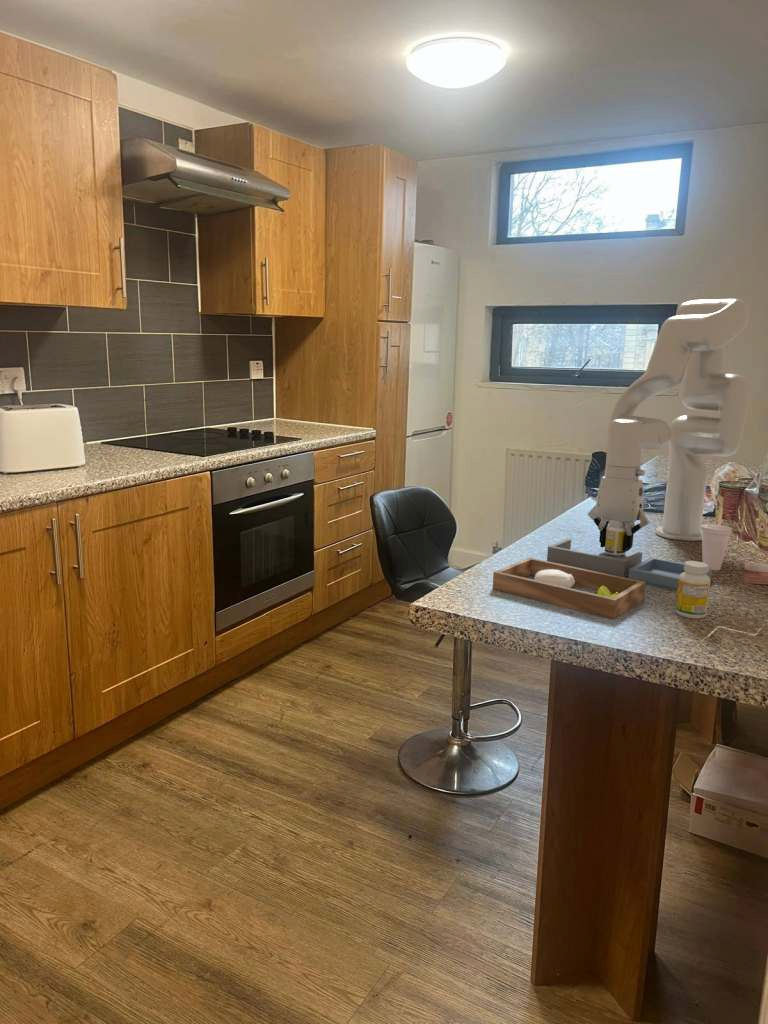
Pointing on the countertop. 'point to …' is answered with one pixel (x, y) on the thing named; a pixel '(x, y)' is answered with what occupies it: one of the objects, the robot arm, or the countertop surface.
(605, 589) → the plate of lemons
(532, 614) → the countertop surface
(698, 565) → the supplement bottle
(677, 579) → the tray
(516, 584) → the wooden rectangular frame
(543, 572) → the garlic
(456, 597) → the countertop surface
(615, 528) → the supplement bottle
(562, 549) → the bay
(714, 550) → the smoothie
